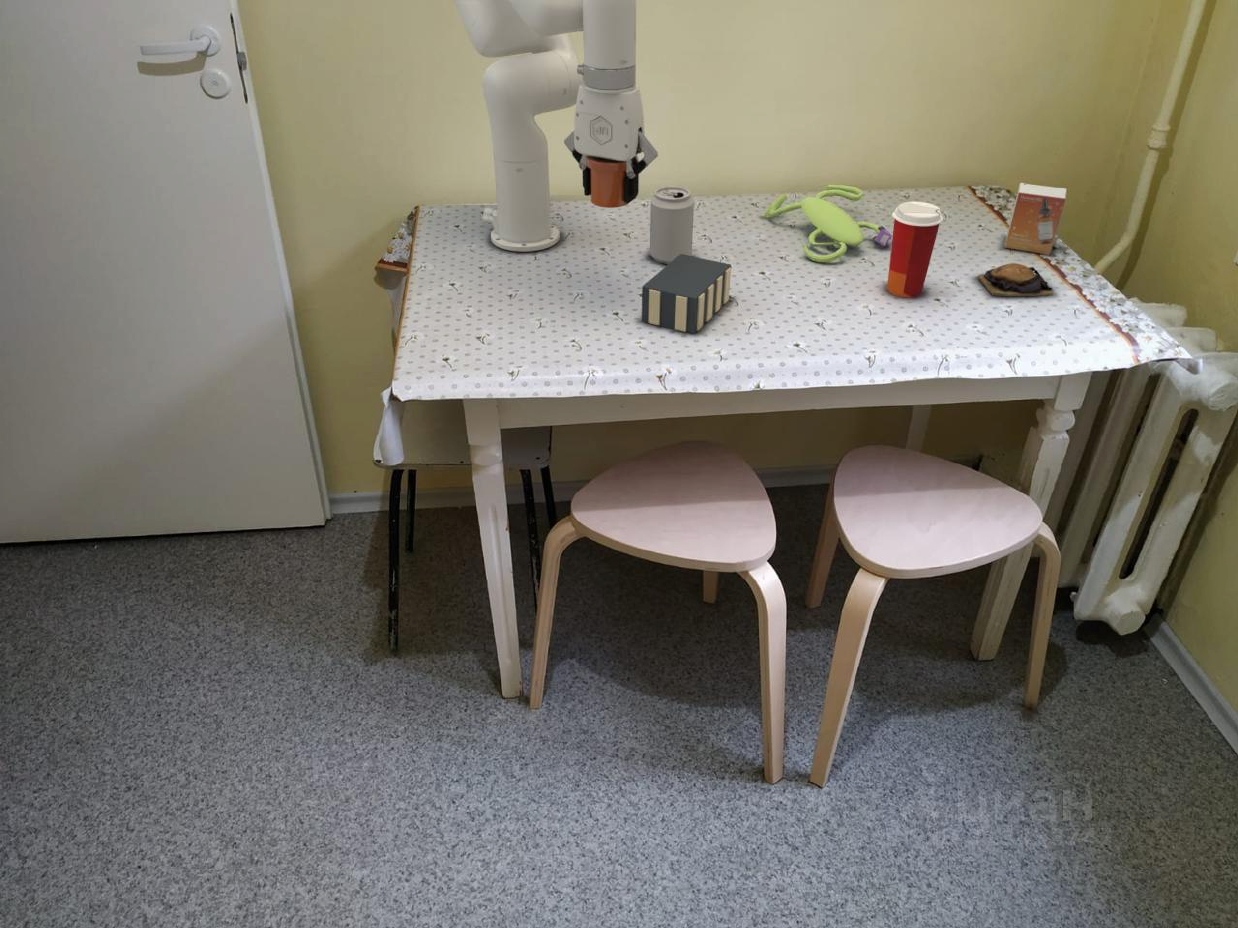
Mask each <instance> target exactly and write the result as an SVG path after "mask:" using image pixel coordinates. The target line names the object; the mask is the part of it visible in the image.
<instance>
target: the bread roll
mask: <svg viewBox="0 0 1238 928" xmlns="http://www.w3.org/2000/svg"><path fill="white" fill-rule="evenodd" d="M977 280H979V282H981V284H982V285H983V286H984V287H985V289H986V290H987V291H988V292H989V293H990V294H991V295H992V296H1000V297H1001V296H1003V297H1035V298H1036V297H1037V296H1038V297H1042V296H1044V297H1045V296H1046V297H1048V296H1053V294H1054V291H1053V287H1050V286H1049V285H1048V284H1049V283H1048V282H1047V281H1045V279H1044V278H1043V276H1041V273H1040V272H1039V271H1038V270H1037V269H1035V267H1033V266H1030V267H1028V266H1026V265H1024V264H1021V263H1016V262H1015V263H1012V262H1011V263H1006V264H1002V265H1000V266H997V267H995V268H991V269H989V270H986V271H985V273H980V274H978V275H977Z"/></svg>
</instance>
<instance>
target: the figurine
mask: <svg viewBox="0 0 1238 928" xmlns="http://www.w3.org/2000/svg"><path fill="white" fill-rule="evenodd" d="M826 197H827V198H828V197H841V198H844V199H846V200H849V201H852V202H857V201H860V200H861V199H862V197H863V190H862V189H860V188H859V187H855V186H847V185H841V184H839V185H838V184H828V185H827V186H826V190H823V191H820V192H818V193H817V194H816V195H815V196H814V197H813V196H808V197H805V198H803V199H801V201H797V202H794V203H790V204H788V205H785V206H782V205H783V204H784V203H785V202H786V201H787V200H788V196H787V195H786V194H781V195H780V196H779V197H778V198H777V199H775V200H774V201H773V202H772V203H770V205H769V206H768V207H767V209H766V211H764V217H765V218H766V219H769V218H772V219H773V218H777V217H779V216H781V215H783V214H785V213H789V212H792V211H796V210H799V209H801V210H802V212H803V215H804V216H805V217H806V219H807V220H808V221H809V222H810V224H811V225H812V226H814V228H815V230H813V231H812V232H811V233H810V234H809V236H808V238H807V240H808V241H807V242H808V243H807V242H805V243H804V244H803V252H804V255H805V256H806V257H807V258H808V259H809V260H811V261H813V262H816V263H829V262H833V261H836V260H838V259H839V258H841V257H842V256H843V255H845V253H847V250H848V247H847V245H848V246H852V247H853V246H854V247H855V246H858V245H861V244H862V243H863V242H864V234H863V232H862V230H861V228H866V229H869V230H873V231H874V232H876V234H877V235H875V236H873V237H872V240H873V241H874V242H875V243H878V244H879V245H881V246H883V247H886V246H887V245H888V243H889V242H890V240H891V239H892V237H893V234H891V233H890V231H888V230H887V229H886V228H885V227H884V226H882V225H881V226H880V225H879V224H874V223H873V222H868V221H857V222H856V221H855V220H854V219H853V217H852V216H851V215H849V213H847V212H846V211H844V209H842V208H841V207H840V206H837V205H836V204H834V203H832V202H830V201H828V200H826V199H823V198H826ZM822 234H823V235H824V236H826V237H828V238H829V239H831V240H833V241H832V242H816V241H815V240H816V238H817V237H818V236H820V235H822ZM808 244H810V245H811V246H817V247H819V246H834V247H835V248H836V249H837V250H836V251H835V252H833V253H830V254H823V255H817V254H815V253H813V252H811V251H810V250H809V248H808Z"/></svg>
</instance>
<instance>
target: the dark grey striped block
mask: <svg viewBox="0 0 1238 928" xmlns="http://www.w3.org/2000/svg"><path fill="white" fill-rule="evenodd" d="M731 276H732V264H730V263H726V262H721V261H716V260H713V259H707V258H702V257H699V256H698V257H697V256H692V255H691V256H688V255H683V254H680V255H679V256H677V257H676V258H675V259H674V260H673V261H672V262H670V263H669V264H667V265H666V266H665V267H664V268H662V269H661V270H660V271H659V272H658V273H656V274H655V275H654V276H653V277H652V278H650V279H649V280H648V281H647V282H646V283H645V284H643V285H642V286H641V289H642V291H641V299H642V300H641V322H642V323H647V324H651V325H655V326H658V327H663V328H668V329H672V330H676V331H681V332H684V333H688V334H693V335H695V334H696V333H697V332H699V331H700V330H701V329H702V328H703V327H704V324H705V323H708V322H709V321H710V320H711V319H712V318H713V316H714V314H717V312H718V311H719V310H721V307H722V306H723V305H725V304H727V303H728V301H730V288H731Z"/></svg>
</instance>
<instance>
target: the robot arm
mask: <svg viewBox="0 0 1238 928" xmlns="http://www.w3.org/2000/svg"><path fill="white" fill-rule="evenodd" d="M453 2H454V4H455V6H456V9H457V11H458V14H459V16H460V18H461V21H462V24H463V26H464V28H465V30H466V32H467V35H468V37H469V39H470V42H471V43H472V46H473V48H474V49H475V51H476V52H477V53H478V54H479V55H480V56H482V57H485V58H487V59H488V58H489V59H493V58H501V59H499V60H496V61H493V62H492V63H491V64H490V65H489V66H488V67H487V68H486V69H485V71H484V73H483V76H482V82H481V83H482V92H483V97H484V101H485V105H486V109H487V113H488V118H489V124H490V131H491V141H492V153H493V162H494V163H493V166H494V178H495V179H494V181H495V193H496V195H495V196H496V206H497V207H496V208H497V209H496V208H492V207H491V208H490V207H486V208H484V210H483V212H482V213H483V215H482V217H481V221H482V223H484V224H492V226H493V229H492V231H491V232H490V240H491V241H490V242H491V243H492V244H493V245H494V246H496V247H497V248H500V249H501V250H506V251H508V252H509V251H510V252H518V253H520V252H521V253H522V252H523V253H527V252H537V251H543V250H546V249H548V248H551V247H553V246H554V245H556V244H557V243H559V241H560V238H561V232H560V230H559V228H558V227H557V226H555V225H554V224H552V217H551V215H552V214H551V192H550V164H549V163H550V162H549V144H548V139H547V137H546V134H545V132H544V131H543V129H542V128H541V127H540V126H539V125H538V123H537V121H536V120H535V116H537V115H541V114H545V113H550V112H556V111H560V110H565V109H569V108H571V107H573V106H575V110H574V126H573V127H574V128H573V131H572V132H570V134H569V135H568V136H566V138H565V139H564V140H563V143H564V145H565V146H566V148H567V149H568V151H569V152H570V153H571V155H572V157H573V158H574V159H575V161H576V162H577V164H578V167H579V168H578V169H580V170H581V171H582V187H583V190H584V191H583V193H584V196H587V197H589V196H591V189H590V168H589V167H588V166H587V165H586V155H587V156H593V157H598V158H604V159H610V160H617V161H623V162H626V173H627V177H625V178H624V202H625V203H628V204H630V203H631V202H633V201H634V200H636V199H637V197H638V195H639V191H640V189H639V188H640V187H639V186H640V185H639V182H640V174H641V173H642V172H643V171H644V170H645V169H646V168H647V167H648V166H649V165H651V163H653V161H654V160H656V159H657V158H658V156H659V152H658V150H657V149H656V148H655V147H654V146H653V145H652V143H651V142H650V141H649V140H648V137H646V134H645V117H644V106H643V100H642V95H641V94H642V93H641V90H640V86H637V85H636V82H637V80H636V79H637V76H636V75H637V72H636V71H637V69H636V68H637V63H636V62H637V0H453ZM577 32H578V33H579V32H582V33H583V34H582V35H583V37H582V38H583V62H582V64H581V63H580V61H579V58H578V55H577V53H576V51H575V49H574V46H573V44H572V42H571V39H570V36H569V35H568V34H570V33H571V34H572V33H577ZM503 57H504V58H503ZM642 153H643V157H642V159H639V156H638V155H639V154H642ZM632 158H634V166H633V164H632V162H631V159H632Z"/></svg>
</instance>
